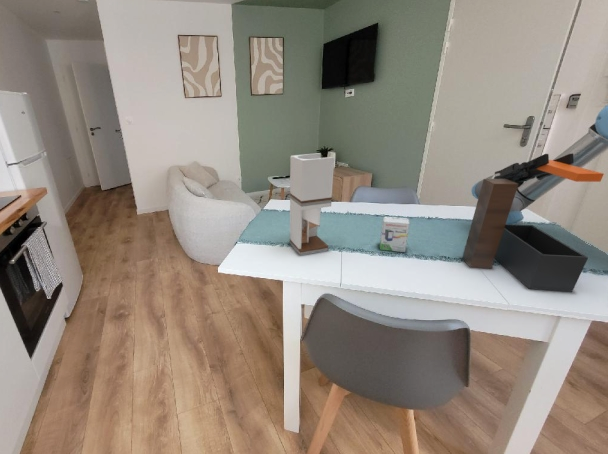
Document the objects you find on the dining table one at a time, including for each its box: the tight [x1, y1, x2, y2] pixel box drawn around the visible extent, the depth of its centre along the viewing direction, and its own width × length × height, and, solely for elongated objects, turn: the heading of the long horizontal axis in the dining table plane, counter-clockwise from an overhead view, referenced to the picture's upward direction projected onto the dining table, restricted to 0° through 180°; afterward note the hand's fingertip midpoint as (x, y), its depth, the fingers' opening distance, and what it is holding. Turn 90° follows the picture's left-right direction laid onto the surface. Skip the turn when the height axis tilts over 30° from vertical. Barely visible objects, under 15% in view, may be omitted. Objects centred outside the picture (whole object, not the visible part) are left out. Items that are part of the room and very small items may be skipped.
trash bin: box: [494, 224, 589, 293], centre depth 90 cm, size 22×10×11 cm, turn 167°
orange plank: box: [536, 159, 605, 183], centre depth 79 cm, size 18×5×2 cm, turn 167°
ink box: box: [379, 216, 411, 253], centre depth 107 cm, size 9×5×12 cm, turn 68°
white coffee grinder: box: [289, 152, 335, 256], centre depth 107 cm, size 11×11×35 cm
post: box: [461, 178, 518, 269], centre depth 91 cm, size 6×6×28 cm
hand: (559, 158), depth 81 cm, fingers closed on orange plank, 5 cm apart
